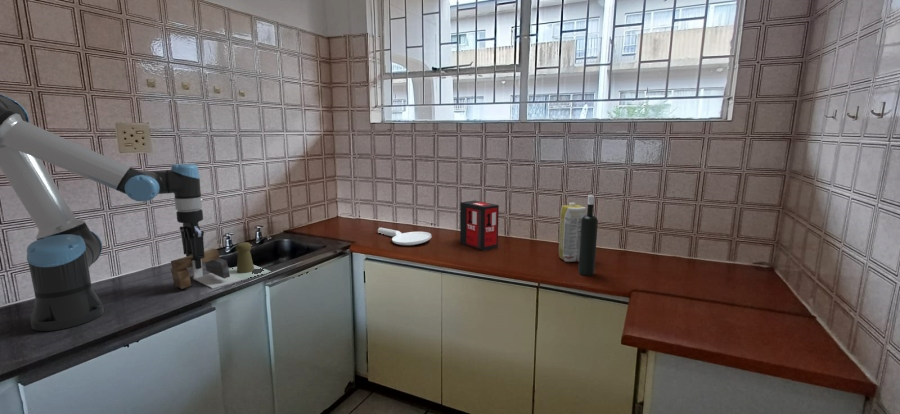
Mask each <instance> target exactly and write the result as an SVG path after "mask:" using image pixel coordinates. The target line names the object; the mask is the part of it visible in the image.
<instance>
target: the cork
mask: <svg viewBox="0 0 900 414" xmlns="http://www.w3.org/2000/svg"><path fill="white" fill-rule="evenodd" d="M235 250H236V252H237V262H236V263H237V264H236V267H237V273H249V272H252V271H253V270H254V265H255V264H254V263H253V262H254V261H253V259H252V258H253V257H252V253H251V250H252V244H251V243H250V242H249V241H248V242H247V241H243V242H239V243H237V244H236V245H235Z"/></svg>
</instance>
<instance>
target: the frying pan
mask: <svg viewBox="0 0 900 414" xmlns="http://www.w3.org/2000/svg"><path fill="white" fill-rule="evenodd" d="M377 233H378V234H379V233H381V234H380V235H383V234H384V236H388V237H392V238H391V241H392V243H394V244H396V245H398V246H415V245H420V244H423V243H426V242H428V241H429V240H431V238H432V233H430V232H427V231H409V232H401V231H400V230H395V229H391V228H386V227H385V228H384V227H378V229H377Z"/></svg>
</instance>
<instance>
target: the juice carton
mask: <svg viewBox="0 0 900 414" xmlns="http://www.w3.org/2000/svg"><path fill="white" fill-rule="evenodd" d="M586 215H587V207H586V206H583V205H580V204H576V202H569V203H568V205H564V204H563V205H561V209H560V221H559V237H558V238H559V239H558V256H559V258H560V259H561V260H562V261H563V262H565V263H570V262H571V263H573V262H579V253H580V236H581V220H582V218H583V217H584V216H586Z"/></svg>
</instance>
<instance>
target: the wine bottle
mask: <svg viewBox="0 0 900 414" xmlns="http://www.w3.org/2000/svg"><path fill="white" fill-rule="evenodd" d="M594 203H595V194H588V195H587V208H586V216H584V217H583V218H582V220H581V236H580V253H579V261H578V274H579V275H581V276H586V277H589V276H590V277H592V276H594V275H595V270H596V269H595V268H596V256H597V255H596V254H597V239H598V225H599V224H598V223H599V220H598V218H597V217H596V216H595V215H593V214H594Z"/></svg>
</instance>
